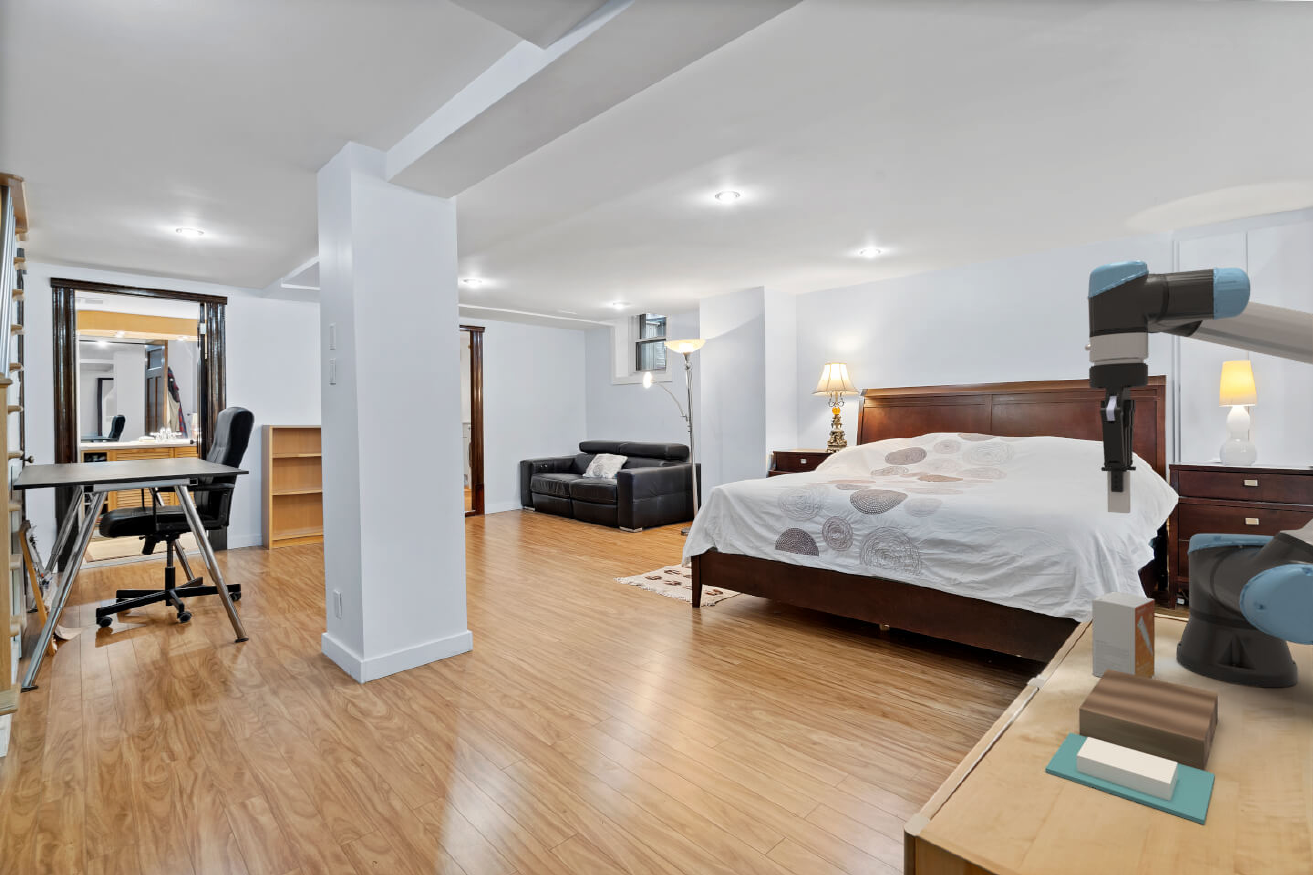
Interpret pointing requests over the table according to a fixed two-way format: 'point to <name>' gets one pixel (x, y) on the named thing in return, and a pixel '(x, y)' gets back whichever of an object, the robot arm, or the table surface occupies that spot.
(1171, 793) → the tile
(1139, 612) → the small box
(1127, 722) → the board
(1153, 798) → the teal mat
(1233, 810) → the table surface
